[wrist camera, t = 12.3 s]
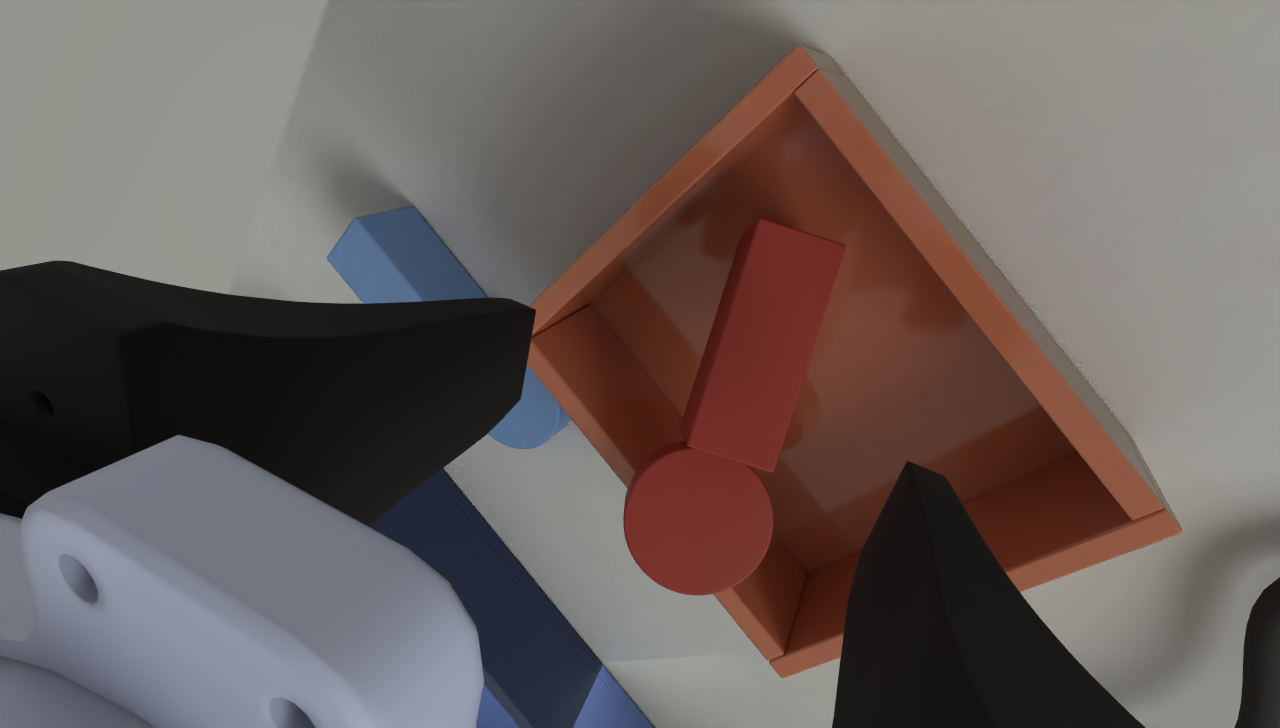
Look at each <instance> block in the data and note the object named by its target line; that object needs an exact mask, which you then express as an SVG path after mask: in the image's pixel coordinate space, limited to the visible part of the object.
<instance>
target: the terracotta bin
mask: <svg viewBox="0 0 1280 728" xmlns="http://www.w3.org/2000/svg"><path fill="white" fill-rule="evenodd" d="M759 218H764V219H767V220H770V221H773V222H776V223H779V224H782V225H786V226H789V227H792V228H795V229H798V230H801V231H804V232H807V233H811V234H814V235H817V236H820V237H823V238H826V239H829V240H833V241H836V242H839V243H842V244H845V245H846V249H845V252H844V255H843V258H842V261H841V264H840V267H839V270H838V274H837V277H836V280H835V283H834V286H833V289H832V292H831V295H830V298H829V302H828V305H827V308H826V311H825V314H824V317H823V320H822V323H821V326H820V329H819V333H818V336H817V339H816V342H815V345H814V348H813V351H812V354H811V357H810V360H809V364H808V367H807V370H806V373H805V376H804V379H803V382H802V385H801V388H800V391H799V395H798V398H797V401H796V404H795V407H794V410H793V413H792V416H791V419H790V423H789V426H788V429H787V432H786V435H785V438H784V441H783V444H782V447H781V450H780V454H779V457H778V460H777V463H776V466H775V469H774V471H773V472H767V471H764V470H761V469H758V468H755V467H751V466H750V467H751V468H752V469H753V470H754V471H755V472H756V473H757V475H758V476H759V477H760V478H761V480H762V482H763V483H764V485H765V487H766V489H767V491H768V494H769V496H770V500H771V503H772V509H773V523H774V524H773V533H772V537H771V541H770V545H769V547H768V550H767V552H766V554H765V556H764V558H763V559H762V561H761V563H760V564H759V565H758V567H757V568H756V569H755V570H754V571H753V572H752V573H751V574H750V575H749V576H748V577H747V578H746V579H744V580H743V581H742V582H740V583H739V584H737V585H735V586H734V587H732V588H729V589H727V590H725V591H722V592H718V593H715V594H714V596H715V597H716V598H717V599H718V600H719V602H720V603H721V604H722V605H723V607H724V608H725V609H726V610H727V612H728V613H729V614H730V615H731V616H732V618H733V619H734V620H735V621H736V623H737V624H738V625H739V626H740V628H741V629H742V630H743V631H744V633H745V634H746V635H747V636H748V637H749V639H750V640H751V641H752V642H753V644H754V645H755V646H756V647H757V649H758V650H759V651H760V652H761V654H762V655H763V656H764V657H765V658H766V660H769V663H770V665H771V666H772V667H773V668H774V670H775V671H776V672H777V673H778V675H779V676H780V677H781V678H785V677H787V676H790V675H793V674H796V673H798V672H801V671H804V670H807V669H809V668H812V667H815V666H818V665H820V664H823V663H826V662H829V661H831V660H834V659H837V658H840V657H841V651H842V643H843V635H844V627H845V618H846V611H847V603H848V598H849V594H850V590H851V586H852V583H853V579H854V575H855V571H856V568H857V564H858V561H859V557H860V553H861V551H862V549H863V547H864V545H865V543H866V541H867V539H868V537H869V535H870V533H871V531H872V529H873V527H874V525H875V523H876V521H877V519H878V517H879V515H880V513H881V511H882V509H883V507H884V505H885V503H886V501H887V499H888V497H889V495H890V493H891V491H892V489H893V488H894V486H895V484H896V482H897V480H898V478H899V476H900V474H901V472H902V470H903V468H904V466H905V464H906V462H907V461H910V462H912V463H914V464H917V465H919V466H922V467H924V468H927V469H929V470H932V471H934V472H937V473H939V474H942V475H944V476H945V477H946V478H947V480H948V481H949V483H950V484H951V486H952V488H953V489H954V491H955V493H956V494H957V496H958V498H959V500H960V501H961V503H962V505H963V506H964V508H965V510H966V511H967V513H968V515H969V516H970V518H971V520H972V522H973V523H974V525H975V526H976V528H977V530H978V531H979V533H980V535H981V536H982V538H983V539H984V541H985V543H986V544H987V546H988V547H989V549H990V550H991V552H992V553H993V555H994V556H995V558H996V559H997V561H998V562H999V564H1000V565H1001V567H1002V568H1003V570H1004V571H1005V573H1006V574H1007V575H1008V577H1009V578H1010V579H1011V581H1012V582H1013V584H1014V585H1015V586H1016V588H1017V589H1018V590H1019V592H1021V591H1024V590H1027V589H1029V588H1032V587H1035V586H1038V585H1040V584H1043V583H1046V582H1049V581H1051V580H1054V579H1057V578H1060V577H1062V576H1065V575H1068V574H1070V573H1073V572H1076V571H1079V570H1081V569H1084V568H1087V567H1090V566H1092V565H1095V564H1098V563H1101V562H1103V561H1106V560H1109V559H1112V558H1114V557H1117V556H1120V555H1123V554H1125V553H1128V552H1131V551H1134V550H1136V549H1139V548H1142V547H1145V546H1147V545H1150V544H1153V543H1156V542H1158V541H1161V540H1164V539H1167V538H1169V537H1172V536H1175V535H1178V534H1180V533H1181V532H1182V528H1181V526H1180V524H1179V522H1178V520H1177V519H1176V517H1175V515H1174V513H1173V511H1172V510H1171V508H1170V506H1169V504H1168V502H1167V500H1166V499H1165V497H1164V495H1163V493H1162V491H1161V489H1160V488H1159V486H1158V484H1157V482H1156V480H1155V479H1154V477H1153V475H1152V473H1151V471H1150V469H1149V468H1148V466H1147V464H1146V462H1145V460H1144V458H1143V457H1142V455H1141V453H1140V451H1139V449H1138V448H1137V445H1136V444H1135V442H1134V440H1133V439H1132V437H1131V436H1130V435H1129V434H1128V432H1127V431H1126V430H1125V429H1124V427H1123V426H1122V425H1121V423H1120V422H1119V421H1118V420H1117V418H1116V417H1115V416H1114V415H1113V413H1112V412H1111V411H1110V409H1109V408H1108V407H1107V406H1106V404H1105V403H1104V402H1103V401H1102V399H1101V398H1100V397H1099V395H1098V394H1097V393H1096V392H1095V390H1094V389H1093V388H1092V387H1091V385H1090V384H1089V383H1088V382H1087V380H1086V379H1085V378H1084V376H1083V375H1082V374H1081V373H1080V371H1079V370H1078V369H1077V368H1076V366H1075V365H1074V364H1073V362H1072V361H1071V360H1070V359H1069V357H1068V356H1067V355H1066V354H1065V352H1064V351H1063V350H1062V349H1061V347H1060V346H1059V345H1058V343H1057V342H1056V341H1055V340H1054V338H1053V337H1052V336H1051V335H1050V333H1049V332H1048V331H1047V329H1046V328H1045V327H1044V326H1043V324H1042V323H1041V322H1040V321H1039V319H1038V318H1037V317H1036V316H1035V314H1034V313H1033V312H1032V310H1031V309H1030V308H1029V307H1028V305H1027V304H1026V303H1025V302H1024V300H1023V299H1022V298H1021V296H1020V295H1019V294H1018V293H1017V291H1016V290H1015V289H1014V288H1013V286H1012V285H1011V284H1010V282H1009V281H1008V280H1007V279H1006V277H1005V276H1004V275H1003V274H1002V272H1001V271H1000V270H999V269H998V267H997V266H996V265H995V263H994V262H993V261H992V260H991V258H990V257H989V256H988V255H987V253H986V252H985V251H984V249H983V248H982V247H981V246H980V244H979V243H978V242H977V241H976V239H975V238H974V237H973V236H972V234H971V233H970V232H969V230H968V229H967V228H966V227H965V225H964V224H963V223H962V222H961V220H960V219H959V218H958V216H957V215H956V214H955V213H954V211H953V210H952V209H951V208H950V206H949V205H948V204H947V203H946V201H945V200H944V199H943V197H942V196H941V195H940V194H939V192H938V191H937V190H936V189H935V187H934V186H933V185H932V183H931V182H930V181H929V180H928V178H927V177H926V176H925V175H924V173H923V172H922V171H921V169H920V168H919V167H918V166H917V164H916V163H915V162H914V161H913V159H912V158H911V157H910V156H909V154H908V153H907V152H906V150H905V149H904V148H903V147H902V145H901V144H900V143H899V142H898V140H897V139H896V138H895V136H894V135H893V134H892V133H891V131H890V130H889V129H888V128H887V126H886V125H885V124H884V123H883V121H882V120H881V119H880V117H879V116H878V115H877V114H876V112H875V111H874V110H873V109H872V107H871V106H870V105H869V103H868V102H867V101H866V100H865V98H864V97H863V96H862V95H861V93H860V92H859V91H858V90H857V88H856V87H855V86H854V84H853V83H852V82H851V81H850V79H849V78H848V77H847V76H846V74H845V73H844V72H843V70H842V69H841V68H840V67H839V65H838V64H837V63H836V62H835V60H834V59H833V58H832V57H831V56H829V55H826V54H823V53H821V52H818V51H815V50H812V49H810V48H807V47H804V46H801V45H796V46H795V47H794V48H793V49H792V50H791V51H790V52H789V53H788V54H787V55H786V56H785V57H784V58H783V59H782V60H781V61H780V62H779V63H778V64H777V65H776V66H775V67H773V68H772V69H771V70H770V71H769V72H768V73H767V74H766V75H765V76H764V77H763V78H762V79H761V80H760V81H759V82H758V83H757V84H756V85H755V86H754V87H753V88H752V89H751V90H750V91H749V92H748V93H747V94H746V95H745V96H744V97H743V98H742V99H741V100H740V101H739V102H738V103H737V104H736V105H735V106H734V107H732V108H731V109H730V110H729V111H728V112H727V113H726V114H725V115H724V116H723V117H722V118H721V119H720V120H719V121H718V122H717V123H716V124H715V125H714V126H713V127H712V128H711V129H710V130H709V131H708V132H707V133H706V134H705V135H704V136H703V137H702V138H701V139H700V140H699V141H698V142H697V143H696V144H695V145H694V146H692V147H691V148H690V149H689V150H688V151H687V152H686V153H685V154H684V155H683V156H682V157H681V158H680V159H679V160H678V161H677V162H676V163H675V164H674V165H673V166H672V167H671V168H670V169H669V170H668V171H667V172H666V173H665V174H664V175H663V176H662V177H661V178H660V179H659V180H658V181H657V182H656V183H655V184H654V185H652V186H651V187H650V188H649V189H648V190H647V191H646V192H645V193H644V194H643V195H642V196H641V197H640V198H639V199H638V200H637V201H636V202H635V203H634V204H633V205H632V206H631V207H630V208H629V209H628V210H627V211H626V212H625V213H624V214H623V215H622V216H621V217H620V218H619V219H618V220H617V221H616V222H615V223H614V224H613V225H611V226H610V227H609V228H608V229H607V230H606V231H605V232H604V233H603V234H602V235H601V236H600V237H599V238H598V239H597V240H596V241H595V242H594V243H593V244H592V245H591V246H590V247H589V248H588V249H587V250H586V251H585V252H584V253H583V254H582V255H581V256H580V257H579V258H578V259H577V260H576V261H575V262H574V263H573V264H571V265H570V266H569V267H568V268H567V269H566V270H565V271H564V272H563V273H562V274H561V275H560V276H559V277H558V278H557V279H556V280H555V281H554V282H553V283H552V284H551V285H550V286H549V287H548V288H547V289H546V290H545V291H544V292H543V293H542V294H541V295H540V296H539V297H538V298H537V299H536V300H535V301H534V302H533V303H532V304H530V305H529V306H528V307H531V308H533V309H536V315H535V320H534V326H533V332H532V338H531V344H530V349H529V355H528V361H527V365H528V366H529V367H530V368H531V370H532V371H533V372H534V373H535V375H536V376H537V377H538V378H539V379H540V381H541V382H542V383H543V384H544V386H545V387H546V388H547V389H548V391H549V392H550V393H551V394H552V396H553V397H554V398H555V399H556V400H557V402H558V403H559V404H560V405H561V407H562V408H563V409H564V410H565V412H566V413H567V414H568V415H569V417H570V418H571V419H572V420H573V421H574V423H575V424H576V425H577V426H578V428H579V429H580V430H581V431H582V433H583V434H584V435H585V436H586V438H587V439H588V440H589V441H590V442H591V444H592V445H593V446H594V447H595V449H596V450H597V451H598V452H599V454H600V455H601V456H602V457H603V458H604V460H605V461H606V462H607V463H608V465H609V466H610V467H611V468H612V470H613V471H614V472H615V473H616V475H617V476H618V477H619V478H620V479H621V481H622V482H623V483H624V484H625V486H626V487H627V488H628V487H629V484H630V482H631V479H632V478H633V476H634V474H635V472H636V471H637V470H638V468H639V467H640V465H641V464H642V463H643V462H644V461H645V460H646V459H647V458H648V457H650V456H651V455H652V454H653V453H655V452H656V451H658V450H660V449H661V448H663V447H665V446H668V445H670V444H673V443H676V442H680V441H684V439H683V437H682V435H681V433H680V430H679V429H680V426H681V423H682V420H683V416H684V413H685V410H686V407H687V404H688V401H689V398H690V394H691V391H692V388H693V385H694V382H695V379H696V376H697V372H698V369H699V366H700V363H701V360H702V357H703V354H704V350H705V347H706V344H707V341H708V338H709V335H710V332H711V328H712V325H713V322H714V319H715V316H716V313H717V310H718V306H719V303H720V300H721V297H722V294H723V291H724V288H725V284H726V281H727V278H728V275H729V272H730V269H731V266H732V262H733V259H734V256H735V253H736V250H737V247H738V244H739V240H740V238H741V237H742V236H743V235H744V233H745V232H746V231H747V230H748V229H749V228H750V227H751V226H752V225H753V224H754V223H755V222H756V221H757V220H758V219H759Z"/></svg>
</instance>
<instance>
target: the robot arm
mask: <svg viewBox="0 0 1280 728" xmlns="http://www.w3.org/2000/svg"><path fill="white" fill-rule="evenodd" d="M535 315H536V309H533V308H531V307H528V306H526V305H524V304H521V303H519V302H516V301H514V300H511V299H505V298H468V299H451V300H435V301H420V302H396V303H368V304H334V303H310V302H293V301H283V300H273V299H264V298H254V297H245V296H236V295H228V294H222V293H215V292H209V291H202V290H197V289H191V288H186V287H180V286H174V285H169V284H164V283H159V282H154V281H150V280H145V279H141V278H137V277H133V276H128V275H124V274H120V273H115V272H111V271H107V270H103V269H99V268H94V267H90V266H86V265H83V264H79V263H75V262H70V261H50V262H45V263H39V264H34V265H28V266H23V267H17V268H12V269H7V270H1V271H0V728H476V721H477V716H478V711H479V705H480V700H481V694H482V689H483V684H484V677H483V669H482V661H481V653H480V646H479V638H478V632H477V628H476V625H475V624H474V622H473V620H472V619H471V617H470V615H469V614H468V612H467V610H466V609H465V607H464V606H463V604H462V602H461V601H460V599H459V597H458V596H457V594H456V593H455V591H454V589H453V588H452V586H451V584H450V583H449V581H447V580H446V579H445V578H444V577H442V576H441V575H440V574H439V573H438V572H436V571H435V570H434V569H433V568H431V567H430V566H429V565H428V564H427V563H425V562H424V561H423V560H422V559H420V558H419V557H418V556H417V555H416V554H414V553H413V552H412V551H411V550H409V549H408V548H406V547H405V546H403V545H401V544H399V543H397V542H395V541H394V540H392V539H390V538H388V537H386V536H385V535H383V534H381V533H379V532H377V531H375V530H374V529H372V528H371V527H372V526H373V525H374V524H375V523H376V522H377V521H378V520H379V519H380V518H381V517H382V516H383V515H384V514H385V513H386V512H387V511H389V510H390V509H391V508H392V507H393V506H394V505H396V504H397V503H398V502H399V501H400V500H402V499H403V498H404V497H405V496H406V495H408V494H409V493H410V492H412V491H413V490H414V489H416V488H417V487H418V486H420V485H421V484H422V483H423V482H425V481H426V480H427V479H429V478H430V477H431V476H433V475H434V474H435V473H437V472H438V471H439V470H441V469H442V468H443V467H445V466H446V465H447V464H449V463H450V462H451V461H453V460H454V459H455V458H457V457H458V456H459V455H461V454H462V453H463V452H465V451H466V450H467V449H468V448H470V447H471V446H472V445H474V444H475V443H476V442H477V441H479V440H480V439H481V438H483V437H484V436H485V435H486V434H488V433H489V432H490V431H491V430H492V429H493V428H494V427H495V426H496V425H497V424H498V423H499V422H500V421H501V420H502V419H503V418H504V417H505V416H506V415H507V414H508V413H509V412H510V411H511V409H512V408H513V407H514V406H515V405H516V404H517V403H518V402H519V401H520V400H521V395H522V390H523V384H524V378H525V372H526V367H527V361H528V355H529V349H530V344H531V338H532V332H533V326H534V320H535ZM832 728H1145V727H1144V726H1143V725H1142V724H1141V723H1140V722H1139V721H1138V720H1136V719H1135V718H1134V717H1133V716H1132V715H1131V714H1130V713H1129V712H1128V711H1127V710H1126V709H1125V708H1124V707H1123V706H1122V705H1121V704H1120V703H1119V702H1118V701H1117V700H1116V699H1115V698H1114V697H1113V696H1112V695H1111V694H1110V693H1109V692H1108V691H1107V690H1106V689H1104V688H1103V687H1102V686H1101V685H1100V684H1099V683H1098V682H1097V681H1096V680H1095V679H1094V678H1093V677H1092V676H1091V675H1090V674H1089V673H1088V672H1087V670H1086V669H1085V668H1084V667H1083V666H1082V665H1081V664H1080V663H1079V662H1078V661H1077V660H1076V659H1075V658H1074V657H1073V656H1072V655H1071V653H1070V652H1069V651H1068V650H1067V649H1066V648H1065V647H1064V645H1063V644H1062V643H1061V642H1060V641H1059V640H1058V639H1057V637H1056V636H1055V635H1054V634H1053V633H1052V632H1051V630H1050V629H1049V628H1048V627H1047V626H1046V625H1045V623H1044V622H1043V621H1042V620H1041V619H1040V618H1039V616H1038V615H1037V614H1036V613H1035V611H1034V610H1033V609H1032V608H1031V606H1030V605H1029V604H1028V603H1027V601H1026V600H1025V599H1024V597H1023V596H1022V595H1021V593H1020V592H1019V590H1018V589H1017V588H1016V586H1015V585H1014V584H1013V582H1012V581H1011V579H1010V578H1009V577H1008V575H1007V574H1006V573H1005V571H1004V570H1003V568H1002V567H1001V565H1000V564H999V562H998V561H997V559H996V558H995V556H994V555H993V553H992V552H991V550H990V549H989V547H988V546H987V544H986V543H985V541H984V539H983V538H982V536H981V535H980V533H979V531H978V530H977V528H976V526H975V525H974V523H973V522H972V520H971V518H970V516H969V515H968V513H967V511H966V510H965V508H964V506H963V505H962V503H961V501H960V500H959V498H958V496H957V494H956V493H955V491H954V489H953V488H952V486H951V484H950V483H949V481H948V480H947V478H946V477H945V476H944V475H942V474H939V473H937V472H934V471H932V470H929V469H927V468H924V467H922V466H919V465H917V464H914V463H912V462H910V461H907V462H906V464H905V466H904V468H903V470H902V472H901V474H900V476H899V478H898V480H897V482H896V484H895V486H894V488H893V489H892V491H891V493H890V495H889V497H888V499H887V501H886V503H885V505H884V507H883V509H882V511H881V513H880V515H879V517H878V519H877V521H876V523H875V525H874V527H873V529H872V531H871V533H870V535H869V537H868V539H867V541H866V543H865V545H864V547H863V549H862V551H861V553H860V557H859V561H858V564H857V568H856V571H855V575H854V579H853V583H852V586H851V590H850V594H849V598H848V603H847V611H846V618H845V627H844V635H843V643H842V651H841V660H840V669H839V677H838V686H837V694H836V703H835V711H834V719H833V725H832Z"/></svg>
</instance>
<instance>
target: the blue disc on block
mask: <svg viewBox="0 0 1280 728" xmlns="http://www.w3.org/2000/svg"><path fill="white" fill-rule="evenodd" d="M327 259H328V261H329V262H330V263H331V264H332V265H333V267H334V268H335V269H336V270H337V272H338V273H339V274H340V275H341V277H342V278H343V279H344V280H345V281H346V283H347V284H348V285H349V286H350V288H351V289H352V290H353V291H354V293H355V294H356V295H357V296H358V297H359V299H360V300H361V301H362V302H363V304H368V303H396V302H420V301H435V300H451V299H468V298H487V296H486V295H485V294H484V293H483V292H482V290H481V289H480V288H479V287H478V285H477V284H476V283H475V282H474V280H473V279H472V278H471V277H470V275H469V274H468V273H467V272H466V271H465V269H464V268H463V267H462V266H461V264H460V263H459V262H458V261H457V259H456V258H455V257H454V256H453V254H452V253H451V252H450V251H449V250H448V248H447V247H446V246H445V245H444V243H443V242H442V241H441V240H440V238H439V237H438V236H437V235H436V233H435V232H434V231H433V230H432V229H431V227H430V226H429V225H428V224H427V222H426V221H425V220H424V219H423V217H422V216H421V215H420V214H419V212H418V211H417V210H416V209H415V208H414V207H413V206H412V207H407V208H402V209H397V210H392V211H387V212H382V213H377V214H372V215H367V216H362V217H357V218H355V219H354V220H353V221H352V223H351V224H350V225H349V227H348V228H347V230H346V231H345V232H344V234H343V235H342V237H341V238H340V240H339V241H338V242H337V244H336V245H335V247H334V248H333V249H332V251H331V252H330V254H329V255H328V257H327ZM570 419H571V418H570V417H569V415H568V414H567V413H566V412H565V410H564V409H563V408H562V407H561V405H560V404H559V403H558V402H557V400H556V399H555V398H554V397H553V396H552V394H551V393H550V392H549V391H548V389H547V388H546V387H545V386H544V384H543V383H542V382H541V381H540V379H539V378H538V377H537V376H536V375H535V373H534V372H533V371H532V370H531V368H530V367H529V366H528V365H527V367H526V372H525V378H524V384H523V390H522V395H521V400H520V401H519V402H518V403H517V404H516V405H515V406H514V407H513V408H512V409H511V411H510V412H509V413H508V414H507V415H506V416H505V417H504V418H503V419H502V420H501V421H500V422H499V423H498V424H497V425H496V426H495V427H494V428H493V429H492V430H491V431H490V432H489V433H488V434H489V435H490V436H491V437H493V438H494V439H495V440H497V441H499V442H500V443H502V444H504V445H507V446H510V447H513V448H518V449H531V448H535V447H538V446H540V445H542V444H544V443H545V442H547V441H548V440H549V439H550V438H552V437H553V436H554V435H555V434H556V433H557V432H559V431H560V430H561V429H562V428H563V427H564V426H565V425H566V424H567V423H568V422H569V421H570Z"/></svg>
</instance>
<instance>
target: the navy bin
mask: <svg viewBox="0 0 1280 728" xmlns="http://www.w3.org/2000/svg"><path fill="white" fill-rule="evenodd" d="M371 528H372V529H374V530H375V531H377V532H379V533H381V534H383V535H385V536H386V537H388V538H390V539H392V540H394V541H395V542H397V543H399V544H401V545H403V546H405V547H406V548H408V549H409V550H411V551H412V552H413V553H414V554H416V555H417V556H418V557H419V558H420V559H422V560H423V561H424V562H425V563H427V564H428V565H429V566H430V567H431V568H433V569H434V570H435V571H436V572H438V573H439V574H440V575H441V576H442V577H444V578H445V579H446V580H447V581H449V583H450V584H451V586H452V588H453V589H454V591H455V593H456V594H457V596H458V597H459V599H460V601H461V602H462V604H463V606H464V607H465V609H466V610H467V612H468V614H469V615H470V617H471V619H472V620H473V622H474V624H475V625H476V628H477V632H478V638H479V646H480V653H481V661H482V669H483V677H484V684H483V689H482V694H481V700H480V705H479V711H478V716H477V721H476V728H654V727H653V726H652V725H651V723H650V722H649V721H648V720H647V718H646V717H645V716H644V715H643V714H642V712H641V711H640V710H639V709H638V707H637V706H636V705H635V704H634V703H633V701H632V700H631V699H630V698H629V696H628V695H627V694H626V693H625V692H624V690H623V689H622V688H621V687H620V685H619V684H618V683H617V682H616V680H615V679H614V678H613V677H612V676H611V674H610V673H609V672H608V671H607V669H606V668H605V667H604V666H603V665H602V663H601V662H600V661H599V660H598V658H597V657H596V656H595V655H594V654H593V652H592V651H591V650H590V649H589V647H588V646H587V645H586V644H585V643H584V641H583V640H582V639H581V638H580V636H579V635H578V634H577V633H576V632H575V630H574V629H573V628H572V627H571V625H570V624H569V623H568V622H567V621H566V619H565V618H564V617H563V616H562V614H561V613H560V612H559V611H558V610H557V608H556V607H555V606H554V605H553V603H552V602H551V601H550V600H549V598H548V597H547V596H546V595H545V594H544V592H543V591H542V590H541V589H540V587H539V586H538V585H537V584H536V583H535V581H534V580H533V579H532V578H531V576H530V575H529V574H528V573H527V572H526V570H525V569H524V568H523V567H522V565H521V564H520V563H519V562H518V561H517V559H516V558H515V557H514V556H513V554H512V553H511V552H510V551H509V550H508V548H507V547H506V546H505V545H504V543H503V542H502V541H501V540H500V539H499V537H498V536H497V535H496V534H495V532H494V531H493V530H492V529H491V528H490V526H489V525H488V524H487V523H486V521H485V520H484V519H483V518H482V517H481V515H480V514H479V513H478V512H477V510H476V509H475V508H474V507H473V505H472V504H471V503H470V502H469V501H468V499H467V498H466V497H465V496H464V494H463V493H462V492H461V491H460V490H459V488H458V487H457V486H456V485H455V483H454V482H453V481H452V480H451V479H450V477H449V476H448V475H447V474H446V472H445V471H444V470H443V469H441V470H439V471H438V472H437V473H435V474H434V475H433V476H431V477H430V478H429V479H427V480H426V481H425V482H423V483H422V484H421V485H420V486H418V487H417V488H416V489H414V490H413V491H412V492H410V493H409V494H408V495H406V496H405V497H404V498H403V499H402V500H400V501H399V502H398V503H397V504H396V505H394V506H393V507H392V508H391V509H390V510H389V511H387V512H386V513H385V514H384V515H383V516H382V517H381V518H380V519H379V520H378V521H377V522H376V523H375V524H374V525H373V526H372V527H371Z"/></svg>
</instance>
